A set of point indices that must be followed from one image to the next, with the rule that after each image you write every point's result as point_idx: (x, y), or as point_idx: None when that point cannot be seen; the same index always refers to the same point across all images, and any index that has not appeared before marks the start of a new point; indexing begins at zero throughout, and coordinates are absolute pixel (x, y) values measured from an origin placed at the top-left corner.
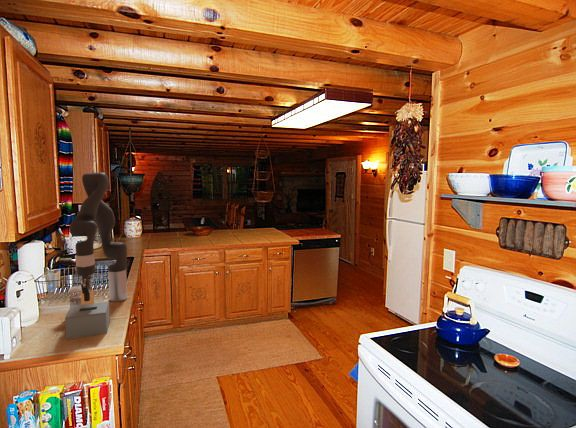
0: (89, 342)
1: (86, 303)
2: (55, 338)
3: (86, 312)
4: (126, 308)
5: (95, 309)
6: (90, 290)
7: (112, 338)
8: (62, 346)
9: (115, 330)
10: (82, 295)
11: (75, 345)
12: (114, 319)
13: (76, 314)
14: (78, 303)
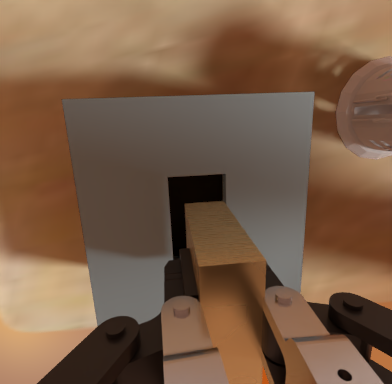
0: (43, 218)
1: (187, 247)
2: (123, 52)
3: (130, 233)
4: None
5: None
6: (252, 363)
7: (64, 298)
8: (23, 109)
9: None
10: (193, 262)
11: (23, 166)
12: None
13: (106, 173)
14: (387, 122)
